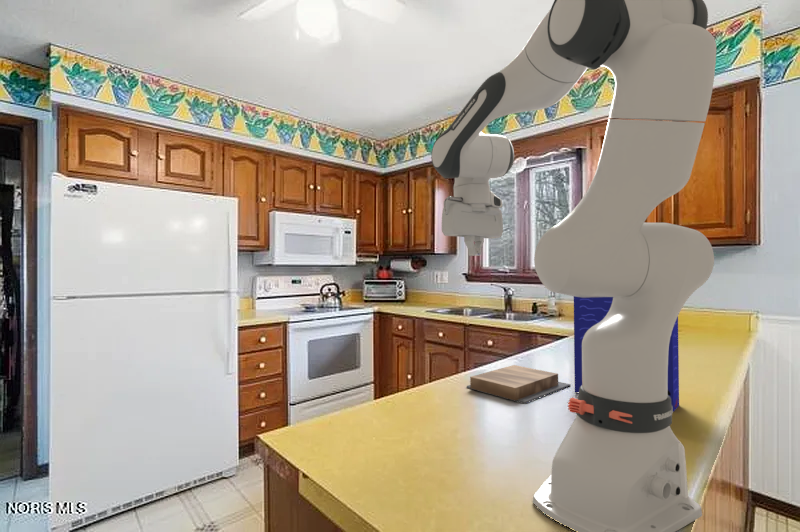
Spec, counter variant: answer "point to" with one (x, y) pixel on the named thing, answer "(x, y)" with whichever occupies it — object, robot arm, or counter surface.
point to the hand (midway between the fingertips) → (474, 255)
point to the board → (514, 381)
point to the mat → (538, 394)
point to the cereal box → (595, 311)
